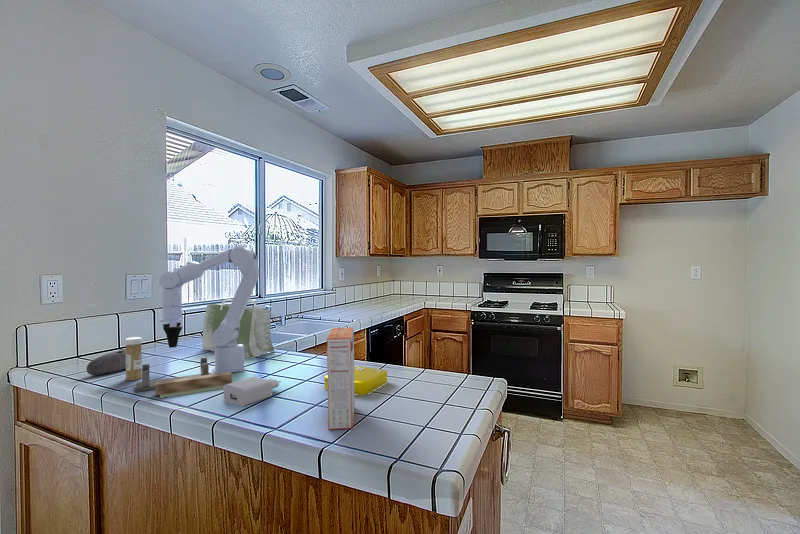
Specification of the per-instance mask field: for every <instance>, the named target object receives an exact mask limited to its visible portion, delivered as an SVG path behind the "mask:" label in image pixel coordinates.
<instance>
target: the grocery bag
mask: <svg viewBox="0 0 800 534" xmlns="http://www.w3.org/2000/svg"><path fill="white" fill-rule="evenodd" d="M232 300H233V298H225V299H224V300H223V301H222V302H221V303H220V304H219V303H218V304H217V303H216V304H215V303H207V306H206V309H205V313H204V317H203V328H202V351H207V350H211V351H210V352H215V344H214V343H213V340H212V335H213V333H214V332H215V331H216V330H217V329H218V328H219V326H220V324H221V322H222V321H223V320H224V318H225V317H226V314H227V312H228V310H229V307H230V305H231V303H226V302H229V301H231V302H232ZM248 302H251V303H252V304H253V306H254V307H253V306H246V308H245V310H244V313H243V315H242V318H241V320H240V327H239V336H238V338H237V339H236V341H237V344H243V346H244V356H245V357H244V358H248V357H254V358H256V357H255V356H258V355H261V354H264V353H267V352H270V351H275V349H274V346H273V343H272V339H271V309H268V308H262V307H258V305H257V303H256V302H255V301H254V299H252V298H250V299H249V301H248ZM258 357H259V356H258Z"/></svg>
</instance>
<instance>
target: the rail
mask: <svg viewBox="0 0 800 534" xmlns="http://www.w3.org/2000/svg"><path fill="white" fill-rule="evenodd" d="M230 383H233V372H225V373H217V374H215V373H212V374H210V375H203V376H196V377H189V378H182V379H174V380H167V381H160V382H156V389H155V396H160V395H162V394H168V393H175V392H181V391H187V390H194V389H200V388H207V387H213V386H220V385H226V384H230Z"/></svg>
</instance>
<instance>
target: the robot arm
mask: <svg viewBox="0 0 800 534" xmlns="http://www.w3.org/2000/svg"><path fill="white" fill-rule="evenodd" d="M258 261H259V260H258V256H257V254H256V253H255V251H254V250H253V249H252V248H250V247H244V246H235V247H234V248H231V249H230V248H229V249H226V250H224V251H222V252H220V253H217V254H216V255H213V256H212V257H209V258H207V259H205V260H203V261H201V262H197V261H187V262H186V264H184V265H183V266H180V267H174V268H173V271H169V270H168V271H164V272H163V273H162V274H160V276H159V278H158V279H159V280H158V281H159V284H160V287H162V318H161V319H158V322H159V323H162V329H163V331H164V333H165V334H166V339H167V344H168V348H169V349H172V348H177V346H178V343H179V336H180V333H181V331H182V330H183V326H181V325H182V321H183V313H182V312H183V306H182V305H183V304H182V303H183V301H182V300H183V296H182V295H183V294H182V288H183V286H184V284H187V283H189V282H191V281H194V280H196V279H199V278H201V277H203V275H204V273H205V271H208V270H211V269H213V268H216V267H219V266H221V265H223V264H226V263H229V264H234V265H235V266H236V267H237V268H238V270H239V272H240V273H241V275H242V276H241V277H242V278H241V280H240V282H239V285H238V286H237V289H236V291H235V294H234V295H233V298H232V299H233V300H232V301H231V303H230V304H231V305H230V307H229V310H228V312H227V314H226V317H225V318H224V320H223V321H222V322H221V324H220V326H219V328H218V329H217V330H216V331H215V332H214V333H213V335H212V340H213V343H214V344H215V351H214V367H212V371H213V374H217V373H225V372H231V373H236V372H243V371H246V369H245V357H244V346H243V344H237V341H236V339H237V338H238V336H239V327H240V320H241V318H242V315H243V313H244V310H245V308H246V307H248V306H247V305H248V303H249V302H250V301H249V299H251V297H252V294H253V292H254V290H255V287H256V285H257V282H258V279H259V278H260V270H259V269H260V268H259V264H258Z"/></svg>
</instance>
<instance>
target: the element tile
mask: <svg viewBox="0 0 800 534" xmlns="http://www.w3.org/2000/svg"><path fill="white" fill-rule="evenodd" d="M386 382H387V383H388V370H387V369H380V368H373V367H365V366H359V365H354V390H355V394H359V395H365V394H368V393H370V392H371V391H373V390H375V389H377V388H378V387H380V386H382V385H383V384H385V383H386ZM325 389H328V380H327V374H326V375H325V376H324V390H325Z"/></svg>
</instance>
